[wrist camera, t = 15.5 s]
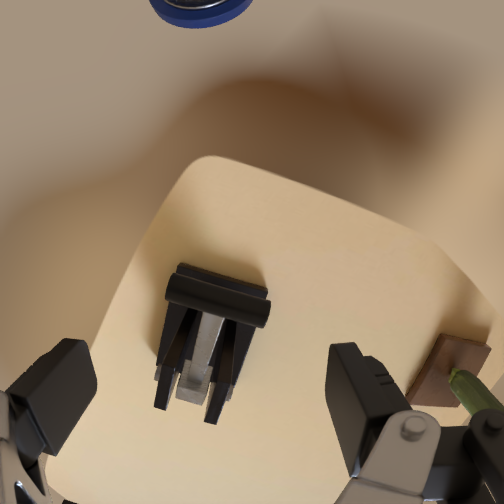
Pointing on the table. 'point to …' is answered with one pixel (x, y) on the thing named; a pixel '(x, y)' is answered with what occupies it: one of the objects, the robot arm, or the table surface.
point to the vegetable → (472, 392)
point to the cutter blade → (210, 326)
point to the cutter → (184, 338)
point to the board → (446, 370)
